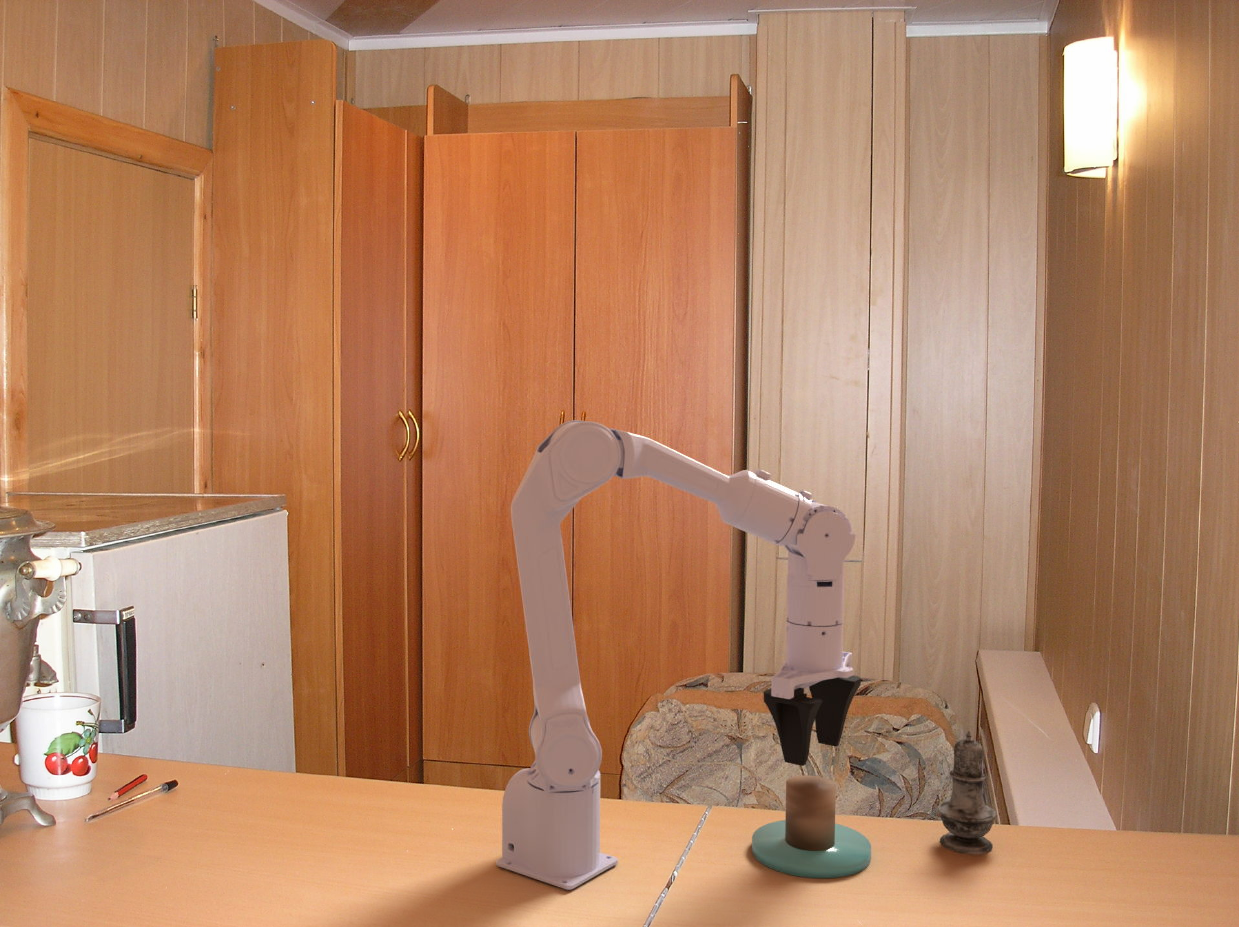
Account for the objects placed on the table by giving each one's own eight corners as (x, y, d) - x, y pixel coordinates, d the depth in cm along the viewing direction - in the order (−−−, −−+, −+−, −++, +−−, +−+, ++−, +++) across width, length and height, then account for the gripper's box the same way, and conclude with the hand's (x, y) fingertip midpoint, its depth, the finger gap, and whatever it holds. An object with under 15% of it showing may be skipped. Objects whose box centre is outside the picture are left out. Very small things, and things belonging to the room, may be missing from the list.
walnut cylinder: (776, 842, 110) (777, 784, 110) (799, 827, 114) (800, 771, 114) (820, 855, 107) (821, 795, 107) (843, 839, 111) (844, 782, 111)
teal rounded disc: (730, 857, 109) (730, 845, 109) (785, 821, 119) (785, 810, 119) (840, 889, 102) (840, 876, 102) (889, 848, 112) (889, 836, 112)
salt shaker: (999, 857, 110) (1002, 741, 109) (939, 852, 111) (942, 737, 110) (991, 835, 115) (994, 724, 115) (934, 830, 117) (937, 721, 116)
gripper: (819, 638, 101) (816, 780, 102) (880, 615, 113) (877, 743, 114) (753, 628, 105) (751, 765, 106) (818, 607, 117) (816, 731, 118)
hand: (812, 753), depth 110 cm, fingers open, 7 cm apart
